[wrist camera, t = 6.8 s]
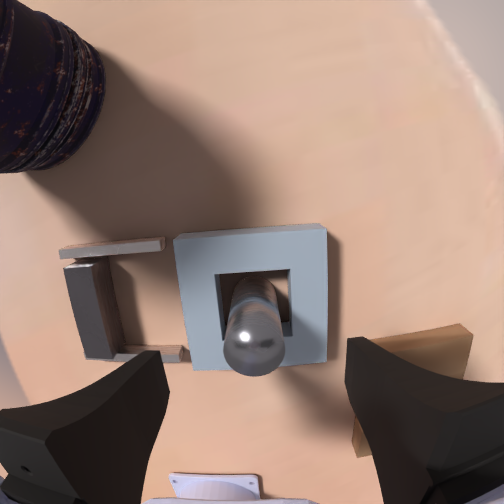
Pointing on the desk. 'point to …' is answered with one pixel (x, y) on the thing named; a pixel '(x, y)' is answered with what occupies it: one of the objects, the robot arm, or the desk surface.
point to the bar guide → (125, 247)
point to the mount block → (424, 360)
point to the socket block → (249, 260)
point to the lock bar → (95, 307)
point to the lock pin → (254, 329)
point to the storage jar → (44, 89)
